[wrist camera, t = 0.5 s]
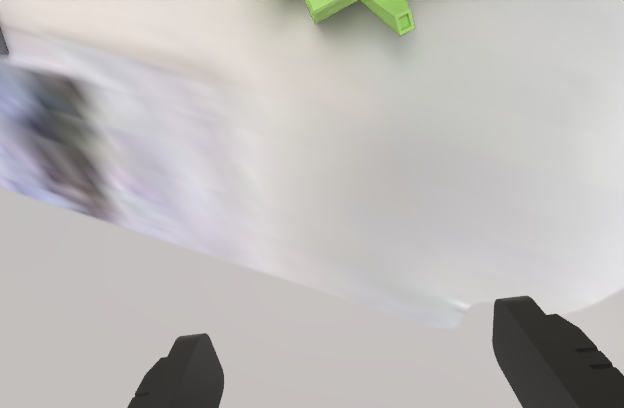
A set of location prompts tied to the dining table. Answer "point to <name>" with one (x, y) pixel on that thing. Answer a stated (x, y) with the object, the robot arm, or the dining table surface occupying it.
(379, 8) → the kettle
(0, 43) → the bolt keeper plate
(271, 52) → the dining table surface
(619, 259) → the dining table surface
